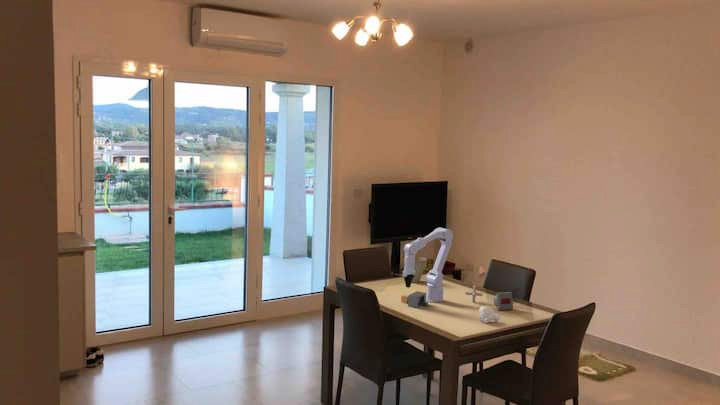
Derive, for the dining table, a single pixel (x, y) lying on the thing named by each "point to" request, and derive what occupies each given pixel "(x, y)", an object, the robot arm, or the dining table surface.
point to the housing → (416, 299)
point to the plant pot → (418, 268)
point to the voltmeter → (504, 300)
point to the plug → (405, 300)
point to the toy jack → (474, 294)
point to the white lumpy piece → (488, 314)
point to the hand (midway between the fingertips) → (408, 287)
